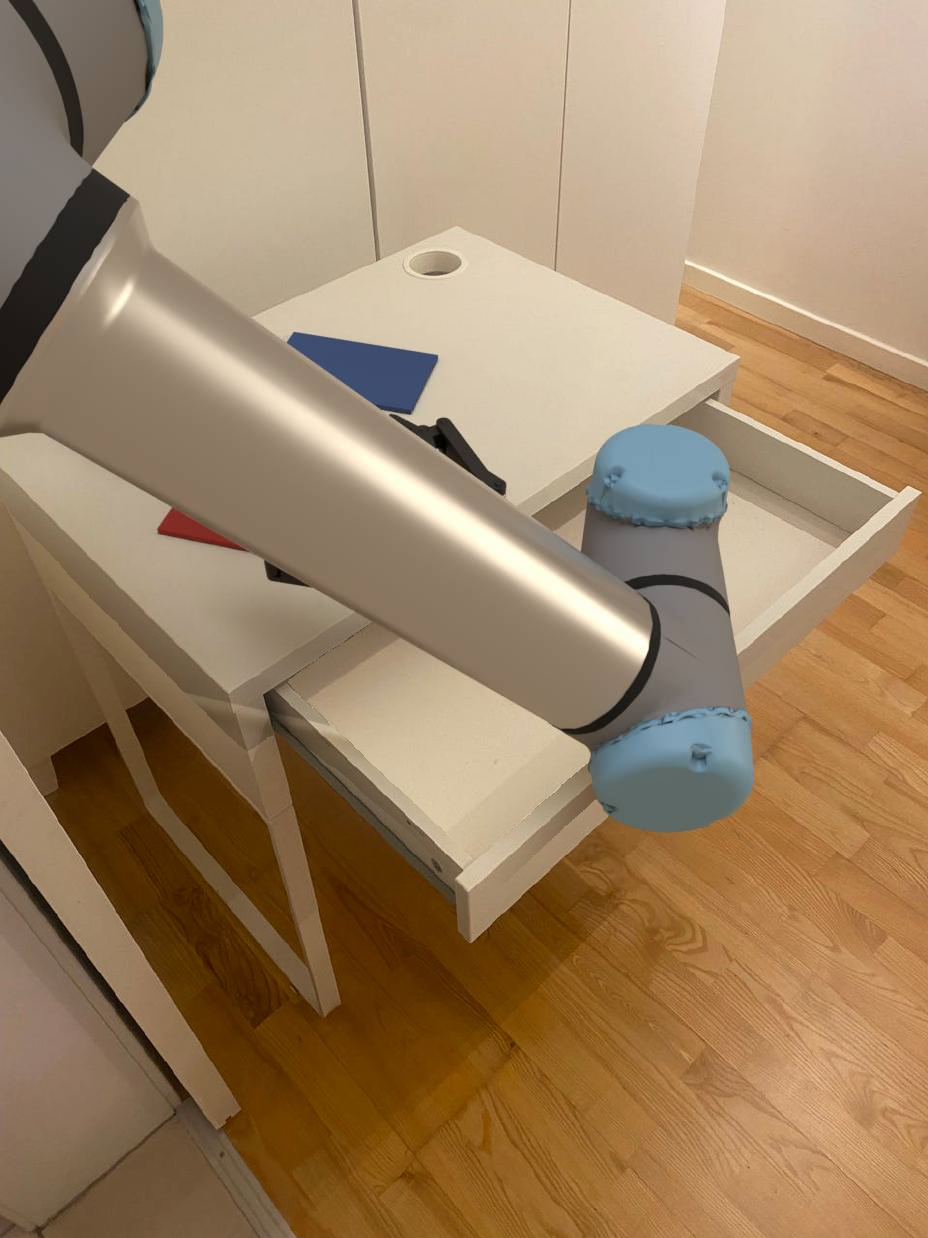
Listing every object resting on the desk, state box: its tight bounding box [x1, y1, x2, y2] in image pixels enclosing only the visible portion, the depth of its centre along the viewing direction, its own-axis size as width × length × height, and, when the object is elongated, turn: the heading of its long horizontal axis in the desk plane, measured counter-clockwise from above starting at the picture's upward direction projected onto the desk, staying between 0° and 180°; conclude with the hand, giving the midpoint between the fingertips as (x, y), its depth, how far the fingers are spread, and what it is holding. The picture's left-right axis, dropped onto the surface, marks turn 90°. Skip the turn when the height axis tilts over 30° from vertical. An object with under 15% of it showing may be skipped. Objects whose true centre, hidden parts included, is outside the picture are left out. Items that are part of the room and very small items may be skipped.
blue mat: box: [285, 331, 439, 415], centre depth 98 cm, size 16×10×1 cm, turn 76°
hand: (290, 452), depth 76 cm, fingers open, 13 cm apart
